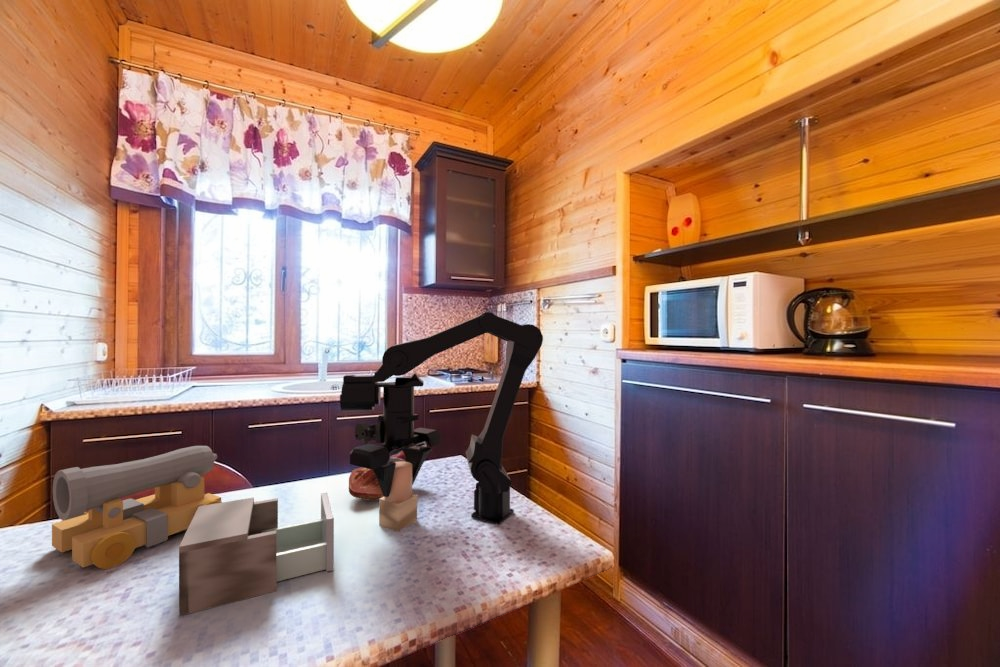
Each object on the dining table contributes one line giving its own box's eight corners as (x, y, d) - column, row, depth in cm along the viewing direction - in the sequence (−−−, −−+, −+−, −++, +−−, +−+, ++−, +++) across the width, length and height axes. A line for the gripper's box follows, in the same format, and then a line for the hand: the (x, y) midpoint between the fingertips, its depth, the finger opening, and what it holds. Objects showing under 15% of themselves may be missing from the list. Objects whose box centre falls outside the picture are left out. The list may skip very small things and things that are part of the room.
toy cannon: (238, 519, 79) (238, 443, 79) (82, 581, 60) (82, 479, 60) (194, 502, 87) (194, 432, 87) (43, 552, 67) (43, 462, 67)
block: (417, 520, 79) (417, 495, 79) (398, 531, 74) (398, 504, 74) (398, 514, 81) (398, 489, 81) (379, 524, 77) (379, 498, 77)
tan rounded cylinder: (417, 495, 79) (417, 464, 79) (398, 504, 74) (398, 472, 74) (398, 489, 81) (398, 459, 81) (378, 498, 77) (378, 467, 77)
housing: (277, 545, 69) (277, 493, 69) (276, 590, 57) (276, 527, 57) (198, 562, 64) (198, 506, 64) (179, 616, 52) (178, 546, 52)
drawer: (327, 537, 72) (327, 492, 72) (333, 569, 62) (333, 518, 62) (261, 551, 67) (261, 503, 67) (258, 589, 57) (258, 533, 57)
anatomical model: (334, 474, 88) (385, 423, 90) (365, 484, 99) (410, 438, 102) (359, 512, 82) (413, 456, 85) (390, 517, 93) (436, 468, 96)
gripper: (401, 398, 90) (401, 469, 90) (329, 413, 74) (329, 499, 74) (441, 403, 84) (441, 478, 84) (372, 420, 68) (372, 513, 68)
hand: (398, 490), depth 78 cm, fingers open, 6 cm apart
